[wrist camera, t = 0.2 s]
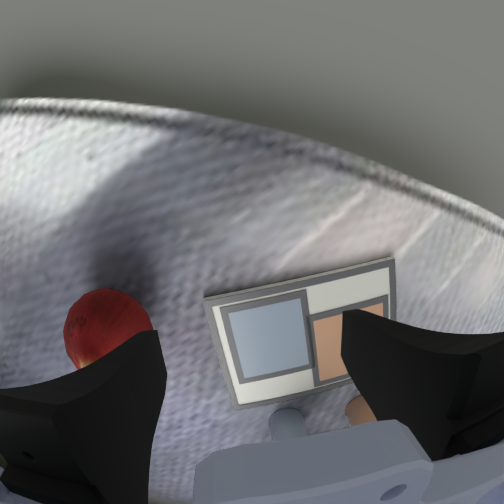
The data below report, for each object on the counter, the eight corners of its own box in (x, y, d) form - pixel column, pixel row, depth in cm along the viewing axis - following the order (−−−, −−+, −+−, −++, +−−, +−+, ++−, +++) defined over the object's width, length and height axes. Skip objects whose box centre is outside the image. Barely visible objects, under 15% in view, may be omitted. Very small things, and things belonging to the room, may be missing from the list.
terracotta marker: (374, 412, 25) (404, 460, 19) (345, 422, 25) (370, 474, 18) (375, 390, 25) (408, 439, 18) (345, 400, 25) (373, 454, 18)
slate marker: (303, 426, 25) (322, 483, 18) (271, 434, 25) (283, 492, 18) (300, 404, 24) (321, 463, 17) (266, 412, 24) (278, 473, 17)
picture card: (391, 364, 24) (394, 368, 23) (233, 405, 24) (234, 411, 23) (390, 256, 22) (394, 258, 21) (203, 297, 21) (202, 301, 21)
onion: (92, 340, 21) (49, 401, 14) (87, 270, 20) (29, 313, 12) (163, 350, 22) (141, 422, 14) (163, 278, 21) (132, 331, 13)
